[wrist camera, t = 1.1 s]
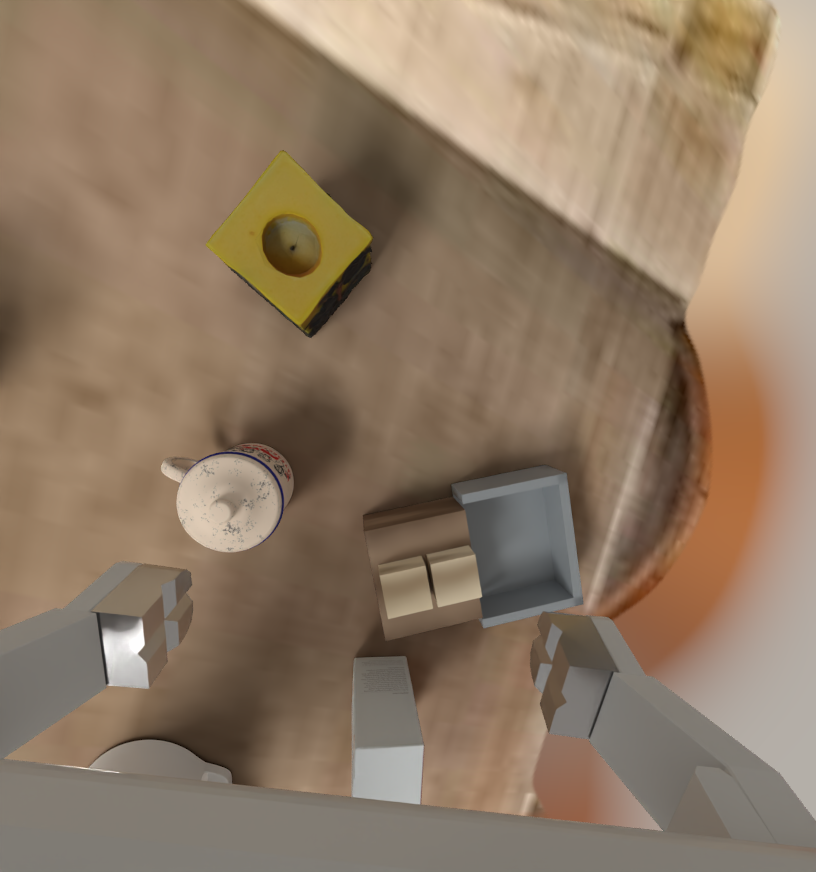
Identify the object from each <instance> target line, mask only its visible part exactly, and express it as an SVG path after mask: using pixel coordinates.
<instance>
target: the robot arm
mask: <svg viewBox="0 0 816 872" xmlns="http://www.w3.org/2000/svg"><path fill="white" fill-rule="evenodd" d="M191 586H192V580H191V573H190V572H189V571H188V570H187V569H179V568H172V567H165V566H158V565H151V564H141V563H134V562H127V561H121V562H118V563H115V564H114V565H113V566H112V567H111V568H109V569H108V570H107V571H106V572H105V573H104V574H103V575H101V576H100V577H99V578H98V579H97V580H96V581H94V582H93V583H92V584H91V585H90V586H89V587H88V588H86V589H85V590H84V591H83V592H82V593H81V594H80V595H78V596H77V597H76V598H75V599H74V600H73V601H72V602H70V603H69V604H68V605H67V606H66V607H65V608H63V609H57V608H55V609H52V610H50V611H47V612H45V613H42V614H40V615H37V616H35V617H32V618H30V619H27V620H25V621H22V622H20V623H17V624H15V625H12V626H10V627H7V628H5V629H2V630H0V872H816V821H815V820H814V818H813V817H812V815H811V814H810V813H809V812H808V810H807V809H806V807H804V805H803V804H802V802H801V801H800V800H799V798H798V797H797V796H796V794H795V793H794V792H793V790H792V789H791V788H790V786H789V785H788V784H787V782H786V781H785V780H784V778H783V777H782V776H781V774H780V773H778V772H777V771H776V770H775V769H773V768H772V767H771V766H769V765H768V764H767V763H765V762H764V761H763V760H761V759H760V758H759V757H758V756H756V755H755V754H753V753H752V752H751V751H750V750H748V749H747V748H746V747H744V746H743V745H742V744H740V743H739V742H738V741H737V740H735V739H734V738H733V737H731V736H730V735H729V734H727V733H726V732H725V731H724V730H722V729H721V728H720V727H718V726H717V725H715V724H714V723H713V722H712V721H710V720H709V719H708V718H706V717H705V716H704V715H702V714H701V713H700V712H698V711H697V710H696V709H695V708H693V707H692V706H691V705H689V704H688V703H687V702H685V701H684V700H683V699H682V698H680V697H679V696H677V695H676V694H675V693H674V692H672V691H671V690H670V689H668V688H667V687H666V686H664V685H663V684H662V683H661V682H659V681H658V680H657V679H655V678H654V677H650V676H646V675H645V673H644V672H643V670H642V668H641V667H640V665H639V663H638V662H637V660H636V659H635V657H634V655H633V654H632V652H631V650H630V649H629V647H628V645H627V644H626V642H625V641H624V639H623V637H622V635H621V634H620V632H619V630H618V629H617V627H616V626H615V624H614V622H613V621H612V620H611V619H610V618H608V617H600V616H589V615H586V616H582V615H573V614H564V613H555V612H546V611H543V612H542V614H541V615H540V617H539V621H538V624H537V626H538V628H539V631H540V634H541V635H539V636H538V637H537V638H536V639H534V640H533V644H532V648H531V652H530V668H531V675H532V679H533V682H534V686H535V687H536V688H537V689H538V690H539V691H540V692H541V693H542V694H543V695H542V698H541V702H540V706H541V709H542V713H543V716H544V719H545V722H546V726H547V729H548V732H549V734H555V735H562V736H569V737H576V738H583V739H590V741H589V742H590V743H591V744H592V746H593V747H594V748H595V749H596V750H597V752H598V753H599V754H600V755H601V756H602V758H603V759H604V760H605V761H606V763H607V764H608V765H609V766H610V767H611V769H612V770H613V771H614V772H615V773H616V775H617V776H618V777H619V778H620V779H621V780H622V782H623V783H624V784H625V785H626V787H627V788H628V789H629V790H630V791H631V793H632V794H633V795H634V796H635V797H636V799H637V800H638V801H639V802H640V803H641V805H642V806H643V807H644V808H645V810H646V811H647V812H648V813H649V814H650V816H651V817H652V818H653V819H654V820H655V821H656V823H657V824H658V825H659V826H660V828H661V829H662V830H663V831H658V830H649V829H639V828H630V827H621V826H612V825H603V824H594V823H584V822H576V821H567V820H557V819H548V818H539V817H530V816H521V815H512V814H503V813H494V812H485V811H475V810H466V809H457V808H448V807H439V806H430V805H421V804H411V803H402V802H393V801H384V800H375V799H366V798H357V797H347V796H338V795H329V794H320V793H311V792H302V791H292V790H283V789H274V788H265V787H256V786H247V785H238V784H232V775H231V772H230V771H229V770H228V769H226V768H224V767H221V766H218V765H214V764H210V763H206V762H204V761H203V760H201V759H200V758H198V757H197V756H196V755H194V754H193V753H192V752H190V751H189V750H187V749H185V748H183V747H181V746H179V745H176V744H174V743H170V742H166V741H160V740H139V741H133V742H129V743H125V744H122V745H119V746H117V747H115V748H113V749H111V750H109V751H107V752H106V753H104V754H103V755H101V756H100V757H99V758H98V759H97V760H96V761H94V763H93V764H92V765H91V766H90V767H89V768H83V767H74V766H65V765H55V764H46V763H37V762H28V761H19V760H9V759H3V758H5V757H6V756H8V755H9V754H10V753H12V752H13V751H15V750H16V749H18V748H19V747H21V746H22V745H24V744H25V743H27V742H28V741H29V740H31V739H32V738H34V737H35V736H37V735H38V734H40V733H41V732H43V731H44V730H45V729H47V728H48V727H50V726H51V725H53V724H54V723H56V722H57V721H59V720H60V719H62V718H63V717H64V716H66V715H67V714H69V713H70V712H72V711H73V710H75V709H76V708H78V707H79V706H80V705H82V704H83V703H85V702H86V701H88V700H89V699H91V698H92V697H94V696H95V695H96V694H98V693H99V692H101V691H102V690H104V689H105V688H106V685H110V686H122V687H135V688H147V689H149V688H150V687H151V685H152V684H153V682H154V681H155V679H156V678H157V676H158V675H159V674H160V672H161V671H162V669H163V668H164V666H165V665H166V664H167V662H168V660H167V652H168V651H170V650H172V649H173V648H175V647H177V646H178V645H180V643H181V642H182V640H183V639H184V637H185V635H186V634H187V631H188V629H189V626H190V623H191V621H192V614H193V601H192V600H191V598H190V597H189V596H188V595H187V593H186V592H187V591H188V590H189V588H190V587H191Z"/></svg>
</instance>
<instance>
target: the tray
mask: <svg viewBox="0 0 816 872" xmlns="http://www.w3.org/2000/svg"><path fill="white" fill-rule="evenodd" d="M451 488H452V494H453V497H454V498H455V499H456V501H457V502H458V503H459V504H460V505H461V506H462V507H463V508H464V509H465V512H466V518H467V524H468V530H469V536H470V542H471V549H472V551H473V552H474V553H475V556H476V562H477V568H478V574H479V580H480V587H481V593H482V597H481V598H480V603H481V610H482V616H483V618H481V619H479V621H480V622H481V624H482V626H483V628H487V627H491V626H495V625H499V624H503V623H508V622H512V621H516V620H520V619H524V618H528V617H532V616H536V615H541V614H542V612H543V611H546V612H553V611H557V610H561V609H565V608H569V607H573V606H578V605H582V604H583V597H582V589H581V581H580V574H579V566H578V558H577V550H576V543H575V535H574V527H573V520H572V512H571V504H570V497H569V489H568V481H567V474H566V473H565V472H563V471H560V470H557V469H555V468H552V467H550V466H547V465H542V466H537V467H532V468H527V469H522V470H518V471H513V472H508V473H503V474H498V475H493V476H488V477H483V478H479V479H474V480H469V481H464V482H459V483H454V484H451Z"/></svg>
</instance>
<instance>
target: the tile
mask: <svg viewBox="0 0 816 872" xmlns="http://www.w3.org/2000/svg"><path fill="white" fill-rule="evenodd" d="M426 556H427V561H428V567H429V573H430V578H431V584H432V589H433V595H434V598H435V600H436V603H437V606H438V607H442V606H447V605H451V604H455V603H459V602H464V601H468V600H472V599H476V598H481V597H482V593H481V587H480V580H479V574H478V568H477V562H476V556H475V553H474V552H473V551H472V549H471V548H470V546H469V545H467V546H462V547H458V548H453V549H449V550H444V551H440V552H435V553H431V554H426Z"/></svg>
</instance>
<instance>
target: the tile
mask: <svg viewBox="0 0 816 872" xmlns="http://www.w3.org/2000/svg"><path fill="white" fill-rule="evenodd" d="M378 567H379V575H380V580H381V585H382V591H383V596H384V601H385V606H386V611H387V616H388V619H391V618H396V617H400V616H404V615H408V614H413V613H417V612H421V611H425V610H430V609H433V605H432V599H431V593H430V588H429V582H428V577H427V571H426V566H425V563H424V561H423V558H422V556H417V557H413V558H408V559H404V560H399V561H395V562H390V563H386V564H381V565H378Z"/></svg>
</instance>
